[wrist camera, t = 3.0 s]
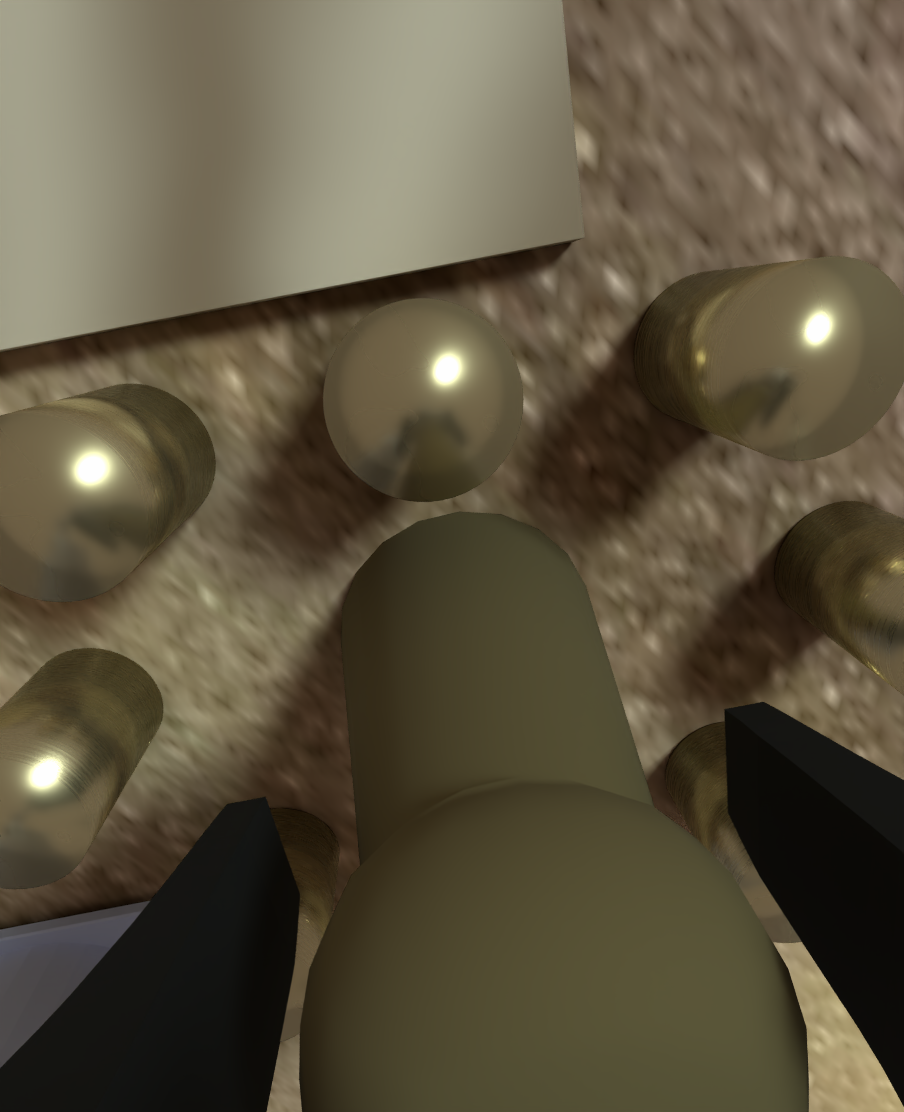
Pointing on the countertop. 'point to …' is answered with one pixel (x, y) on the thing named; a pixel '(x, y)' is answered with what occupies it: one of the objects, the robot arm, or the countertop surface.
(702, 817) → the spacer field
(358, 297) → the countertop surface
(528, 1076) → the cork
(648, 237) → the countertop surface
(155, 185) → the pale grey metal board
